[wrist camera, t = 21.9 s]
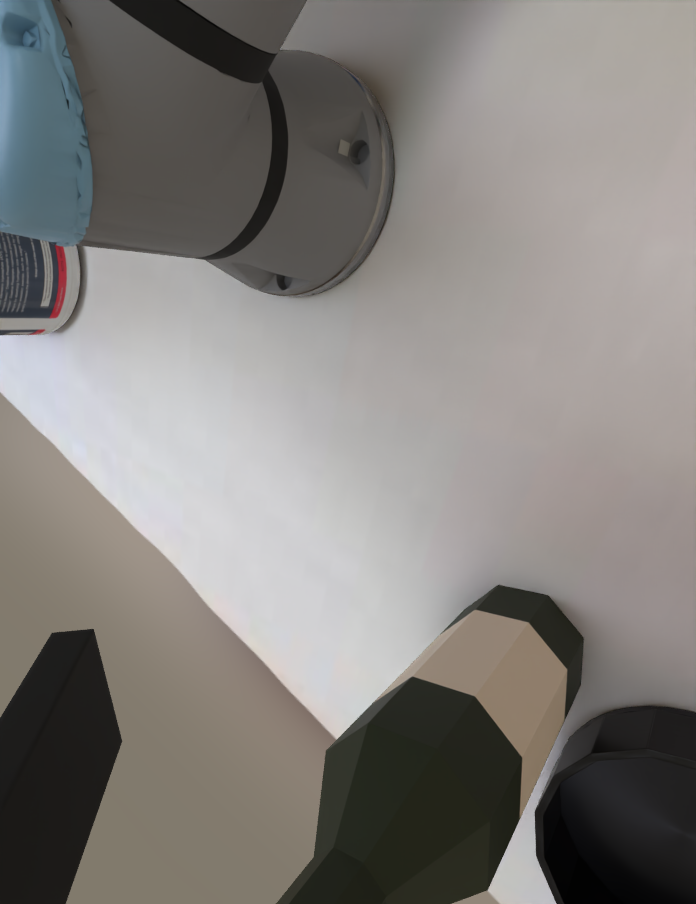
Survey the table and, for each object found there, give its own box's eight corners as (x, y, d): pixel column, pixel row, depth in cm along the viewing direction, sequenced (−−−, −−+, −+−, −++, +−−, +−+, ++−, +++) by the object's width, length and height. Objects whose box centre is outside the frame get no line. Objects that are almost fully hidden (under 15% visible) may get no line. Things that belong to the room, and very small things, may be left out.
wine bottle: (551, 731, 40) (228, 1414, 15) (442, 654, 43) (32, 1103, 18) (612, 634, 36) (330, 1297, 12) (489, 559, 40) (69, 947, 15)
